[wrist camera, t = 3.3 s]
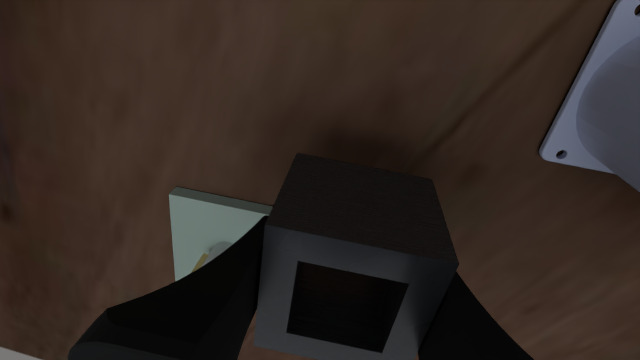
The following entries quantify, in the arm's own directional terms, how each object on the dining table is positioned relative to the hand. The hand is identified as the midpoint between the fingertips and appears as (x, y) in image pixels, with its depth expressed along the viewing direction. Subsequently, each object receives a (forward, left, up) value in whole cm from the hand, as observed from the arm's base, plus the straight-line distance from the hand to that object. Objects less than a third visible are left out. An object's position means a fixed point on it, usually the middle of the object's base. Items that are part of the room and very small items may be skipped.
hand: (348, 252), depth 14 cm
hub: (0, 0, -2) cm, 2 cm away
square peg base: (+8, +9, -8) cm, 14 cm away
